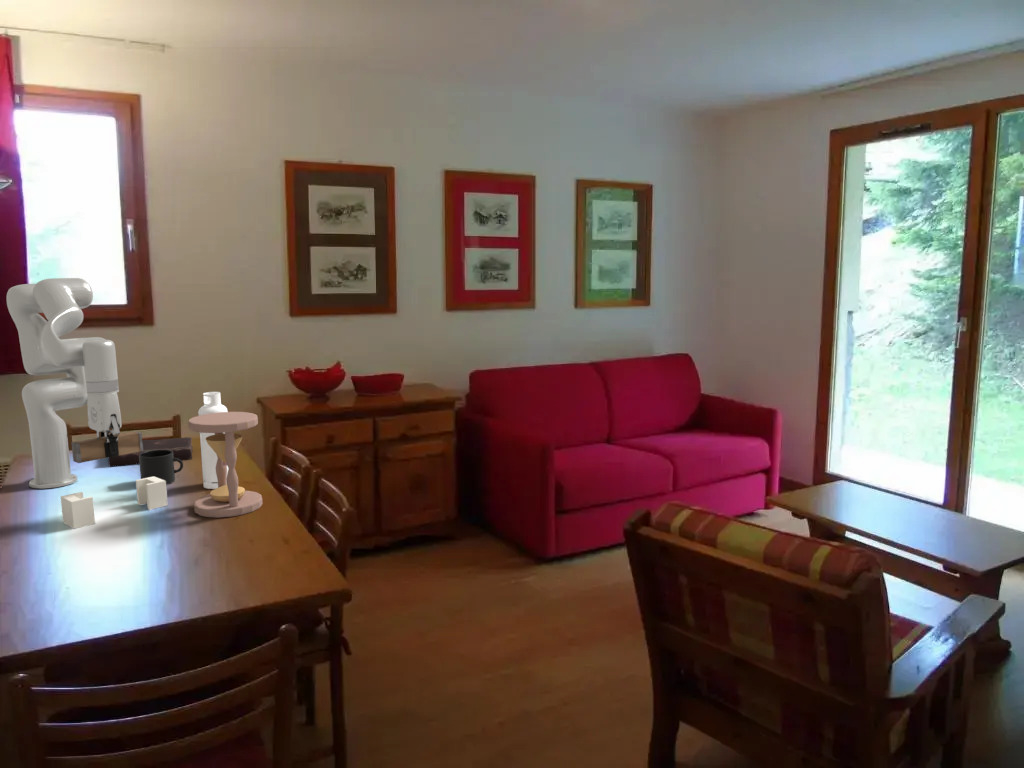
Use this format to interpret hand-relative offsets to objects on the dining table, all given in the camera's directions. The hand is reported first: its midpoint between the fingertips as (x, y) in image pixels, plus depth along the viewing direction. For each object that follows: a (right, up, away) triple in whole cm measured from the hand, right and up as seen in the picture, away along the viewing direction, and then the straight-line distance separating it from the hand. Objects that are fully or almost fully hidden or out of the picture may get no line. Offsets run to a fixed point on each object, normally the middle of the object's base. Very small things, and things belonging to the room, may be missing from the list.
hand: (109, 454), depth 203 cm
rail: (0, 0, 0) cm, 0 cm away
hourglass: (+29, -15, +7) cm, 34 cm away
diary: (-17, -7, +60) cm, 63 cm away
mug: (0, -11, +31) cm, 33 cm away
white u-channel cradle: (+1, -16, +1) cm, 16 cm away
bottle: (+18, -12, +27) cm, 35 cm away
